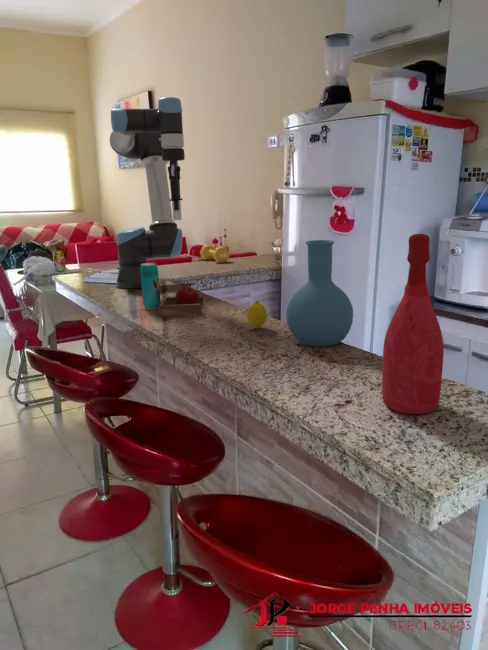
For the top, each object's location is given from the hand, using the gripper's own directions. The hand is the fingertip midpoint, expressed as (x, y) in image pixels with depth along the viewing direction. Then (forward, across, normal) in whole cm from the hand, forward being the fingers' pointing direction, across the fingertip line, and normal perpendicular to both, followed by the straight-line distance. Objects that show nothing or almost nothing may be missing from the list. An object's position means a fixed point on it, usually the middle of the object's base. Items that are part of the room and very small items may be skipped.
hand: (177, 220), depth 175 cm
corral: (+28, +20, +2) cm, 34 cm away
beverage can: (+28, +14, -9) cm, 33 cm away
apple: (+28, +19, +3) cm, 34 cm away
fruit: (+27, +44, +24) cm, 57 cm away
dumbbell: (+30, -92, +10) cm, 97 cm away
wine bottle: (+27, +99, +48) cm, 113 cm away
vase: (+27, +58, +39) cm, 75 cm away
